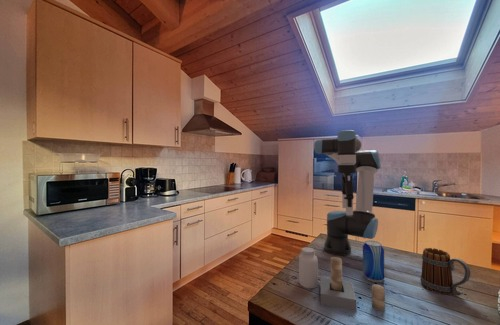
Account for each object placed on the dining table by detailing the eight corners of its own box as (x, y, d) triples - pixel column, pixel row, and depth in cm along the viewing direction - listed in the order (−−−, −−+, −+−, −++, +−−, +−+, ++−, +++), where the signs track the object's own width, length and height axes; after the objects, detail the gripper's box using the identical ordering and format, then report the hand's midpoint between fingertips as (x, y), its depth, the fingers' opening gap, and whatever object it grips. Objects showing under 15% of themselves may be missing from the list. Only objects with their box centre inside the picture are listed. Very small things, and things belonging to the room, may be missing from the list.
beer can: (387, 284, 90) (387, 247, 90) (366, 282, 92) (366, 245, 92) (379, 274, 98) (379, 240, 99) (360, 272, 100) (360, 239, 100)
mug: (414, 283, 91) (414, 248, 91) (429, 278, 95) (429, 245, 95) (462, 306, 76) (461, 264, 76) (477, 298, 80) (476, 259, 80)
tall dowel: (341, 295, 83) (341, 257, 83) (342, 301, 79) (342, 262, 79) (331, 293, 84) (330, 256, 84) (331, 299, 80) (331, 260, 81)
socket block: (320, 286, 89) (320, 277, 89) (351, 291, 85) (351, 281, 85) (320, 304, 78) (320, 293, 78) (356, 311, 74) (356, 300, 74)
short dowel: (370, 302, 79) (370, 283, 79) (383, 304, 77) (382, 285, 78) (373, 309, 75) (373, 289, 75) (386, 311, 74) (386, 291, 74)
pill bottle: (303, 290, 87) (303, 253, 87) (296, 279, 95) (296, 246, 95) (321, 288, 88) (321, 252, 88) (312, 277, 96) (312, 245, 96)
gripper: (335, 164, 108) (336, 205, 108) (340, 164, 85) (341, 217, 84) (351, 164, 106) (352, 206, 106) (361, 164, 82) (361, 218, 82)
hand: (347, 211), depth 95 cm, fingers open, 13 cm apart
